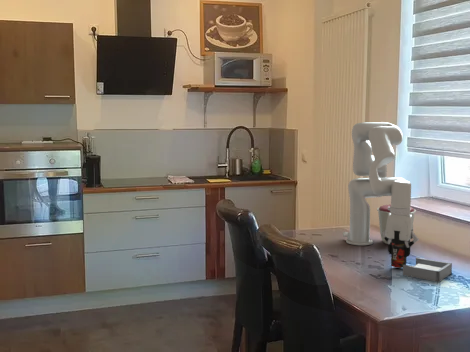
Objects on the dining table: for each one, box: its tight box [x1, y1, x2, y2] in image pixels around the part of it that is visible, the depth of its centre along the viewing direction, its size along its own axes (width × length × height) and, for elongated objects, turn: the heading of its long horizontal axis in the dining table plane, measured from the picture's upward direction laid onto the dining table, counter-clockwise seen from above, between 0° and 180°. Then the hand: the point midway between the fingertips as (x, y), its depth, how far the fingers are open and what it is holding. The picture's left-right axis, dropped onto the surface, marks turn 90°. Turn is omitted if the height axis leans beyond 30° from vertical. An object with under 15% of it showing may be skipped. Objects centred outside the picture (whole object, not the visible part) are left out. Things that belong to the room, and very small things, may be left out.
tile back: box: [414, 264, 430, 269], centre depth 214 cm, size 5×5×3 cm
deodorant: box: [390, 230, 408, 269], centre depth 219 cm, size 6×6×15 cm
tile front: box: [427, 266, 441, 271], centre depth 210 cm, size 5×5×3 cm
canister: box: [376, 204, 417, 245], centre depth 260 cm, size 18×18×21 cm
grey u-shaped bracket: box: [402, 257, 453, 283], centre depth 212 cm, size 14×14×4 cm
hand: (399, 254), depth 219 cm, fingers closed on deodorant, 5 cm apart
